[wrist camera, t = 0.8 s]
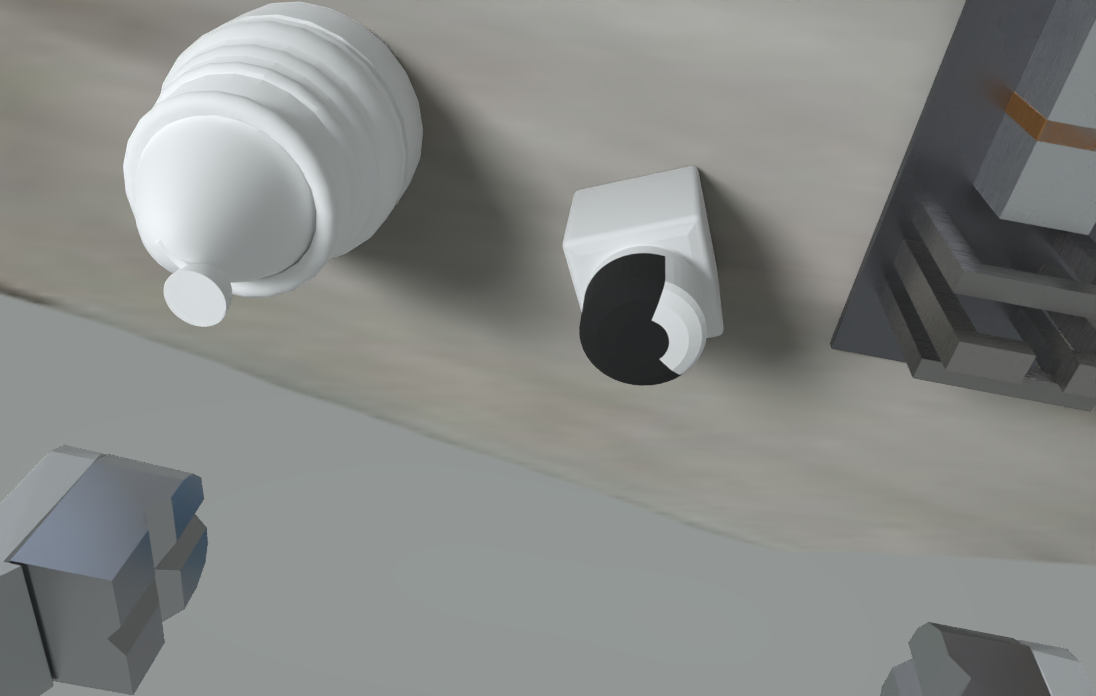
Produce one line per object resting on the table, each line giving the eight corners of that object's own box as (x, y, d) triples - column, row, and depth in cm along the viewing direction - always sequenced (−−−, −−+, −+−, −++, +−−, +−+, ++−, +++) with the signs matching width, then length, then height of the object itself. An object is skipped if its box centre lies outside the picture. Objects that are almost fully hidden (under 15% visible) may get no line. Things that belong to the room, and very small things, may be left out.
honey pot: (469, 135, 48) (381, 288, 33) (326, 262, 54) (195, 444, 39) (295, -54, 44) (101, 24, 29) (159, 106, 49) (-63, 242, 34)
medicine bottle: (601, 295, 53) (586, 412, 43) (573, 189, 49) (549, 290, 39) (718, 274, 51) (731, 391, 41) (697, 162, 47) (705, 260, 37)
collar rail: (1030, -162, 38) (1154, -148, 28) (1302, -114, 38) (1518, -84, 28) (829, 343, 53) (866, 464, 43) (1023, 379, 52) (1102, 509, 43)
